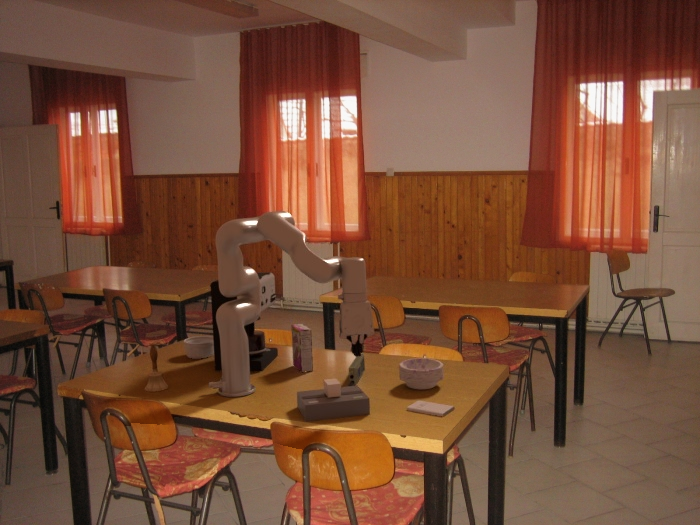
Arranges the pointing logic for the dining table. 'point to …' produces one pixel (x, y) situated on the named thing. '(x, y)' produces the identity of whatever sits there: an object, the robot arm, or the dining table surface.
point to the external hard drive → (430, 408)
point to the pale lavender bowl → (421, 373)
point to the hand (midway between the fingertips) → (357, 355)
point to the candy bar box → (302, 347)
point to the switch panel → (332, 404)
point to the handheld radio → (356, 370)
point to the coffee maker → (256, 338)
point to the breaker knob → (332, 387)
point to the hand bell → (155, 374)
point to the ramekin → (199, 347)
